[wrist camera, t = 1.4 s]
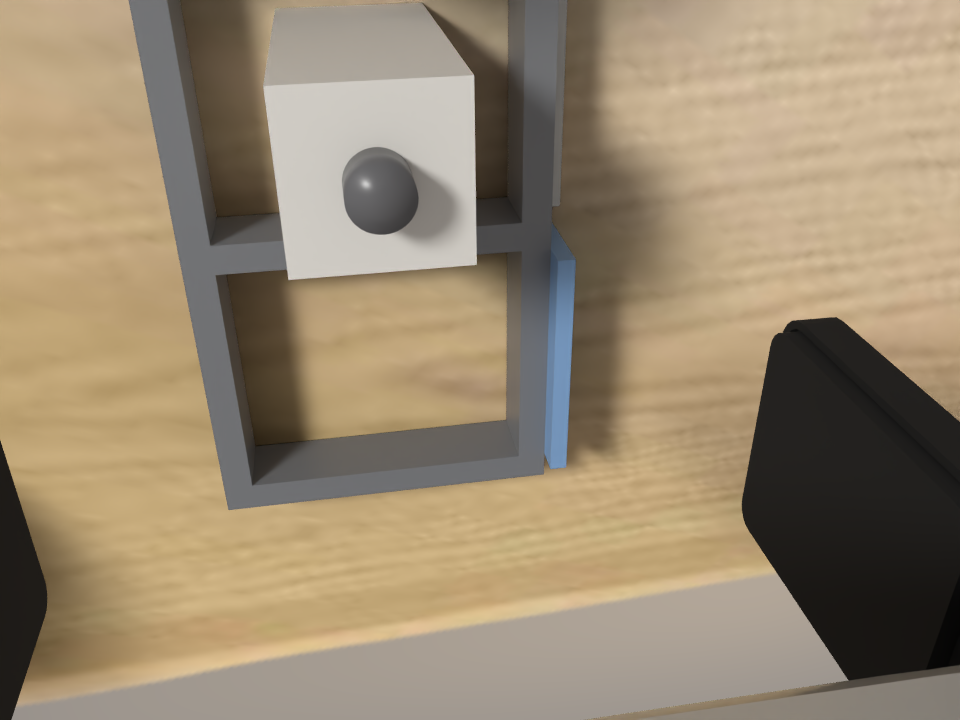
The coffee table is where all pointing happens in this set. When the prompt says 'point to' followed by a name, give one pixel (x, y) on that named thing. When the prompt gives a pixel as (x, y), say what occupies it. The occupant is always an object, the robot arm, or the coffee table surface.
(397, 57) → the plug
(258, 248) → the divided sorting tray
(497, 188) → the coffee table surface
